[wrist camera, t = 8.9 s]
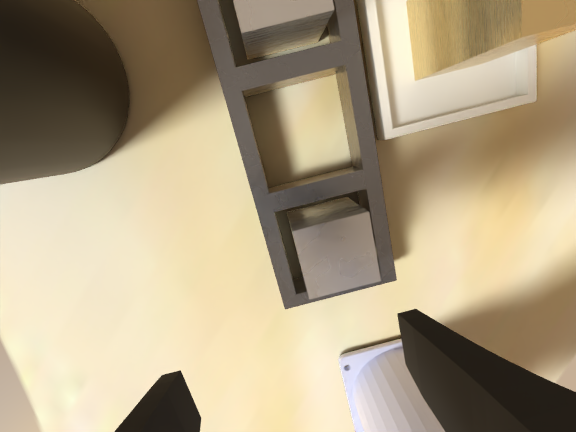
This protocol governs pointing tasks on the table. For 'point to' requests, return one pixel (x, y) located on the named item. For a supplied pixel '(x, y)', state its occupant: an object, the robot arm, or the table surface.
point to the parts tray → (433, 78)
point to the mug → (56, 89)
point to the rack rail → (329, 215)
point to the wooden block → (480, 30)
